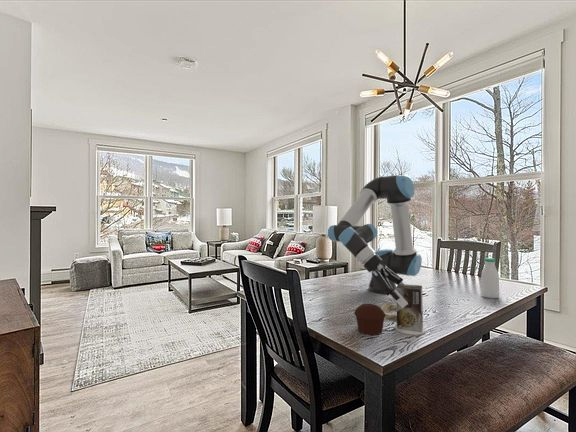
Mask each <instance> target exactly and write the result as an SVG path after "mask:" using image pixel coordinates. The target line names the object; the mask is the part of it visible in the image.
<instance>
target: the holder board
mask: <svg viewBox="0 0 576 432" xmlns="http://www.w3.org/2000/svg"><path fill="white" fill-rule="evenodd" d="M380 308H381V309H382V310H383V312H384V313H385V315H386V316H385V317H384V320H391V321H396V322H397V314H393V313H389V312H390V311H391V310H396V311H397V304H396V303H389V302H384V304H382V306H381V307H380Z"/></svg>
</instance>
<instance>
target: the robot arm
mask: <svg viewBox="0 0 576 432" xmlns="http://www.w3.org/2000/svg"><path fill="white" fill-rule="evenodd" d="M414 196H415V184H414V181H413V179H412V178H411V177H410V176H409V175H406V174H396V175H387V176H378V177H376V178H374V179H371V180H370V181H369V182H368V183H366V184H365V185H364V186H363V188H361V189H360V191H359V196H358V197H357V198H356V199H355V201H354V202H353V203H352V205H351V206H350V207H349V209H348V210H347V211H346V212H345V214H344V215H343V216H342V218H341V219H340V220H339V222H338V223H337V224H334V225H330V226H328V229H327V237H328V239H329V240H330V241H332V242H338V243H339V242H340V243H341V244H342V245H343V246H344V247H345V248H346V249H347V250H348V252H349V253H351V254H352V255H353V257H354V258H355V259H356V261H357V262H358V263H360V264H361V265H363V268H364V269H365V270H366V271H367V272H368V273H371V278H370V280H369V283H368V291H371V292H372V291H373V292H372V293H376V292H377V294H378V293H379V294H385V295H386V296H390V297H392V299H393V300H394V301H395V302H397V303H398V304H399V305H400V306H401V307H402V308H404V307H405V306H406V305H407V304H408V302H407V301H406V300H405V299H404V298H403V297H402V296H401V295H400V294H399V293H398V292H397V291H396V287H397V286H398V284H405V283H404V282H403V281H404V279H403V277H401V275H402V276H408V277H409V276H410V277H415V276H417V275H418V274H419V273H420V270H421V267H422V264H423V263H422V255H421V254H418V253H417V249H416V248H415V247H414V246H413V238H412V237H413V236H412V228H411V219H410V218H411V217H410V210H409V204H410V202H411V201H412V198H413V197H414ZM381 199H382V200H383V199H384V200H385V199H386V203H387V204H388V205H390V212H391V219H392V226H393V227H392V228H393V236H394V237H393V238H394V244H395V248H394V249H390V248H387V249H386V248H385V249H376V250H374V249H373V248H372V247H371V246H370V245H369V243H370V242H372V241H374V240H375V239H376V237H377V236H378V230H377V228H376V227H375V225H373V224H371V223H367V224H364V225H358V224H359V222H360V221H361V219H362V218H363V217H364V215H365V214H366V212H368V209H370V207H371V206H372V204H373V205H374V203H375V202H377V201H378V200H381Z"/></svg>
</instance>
